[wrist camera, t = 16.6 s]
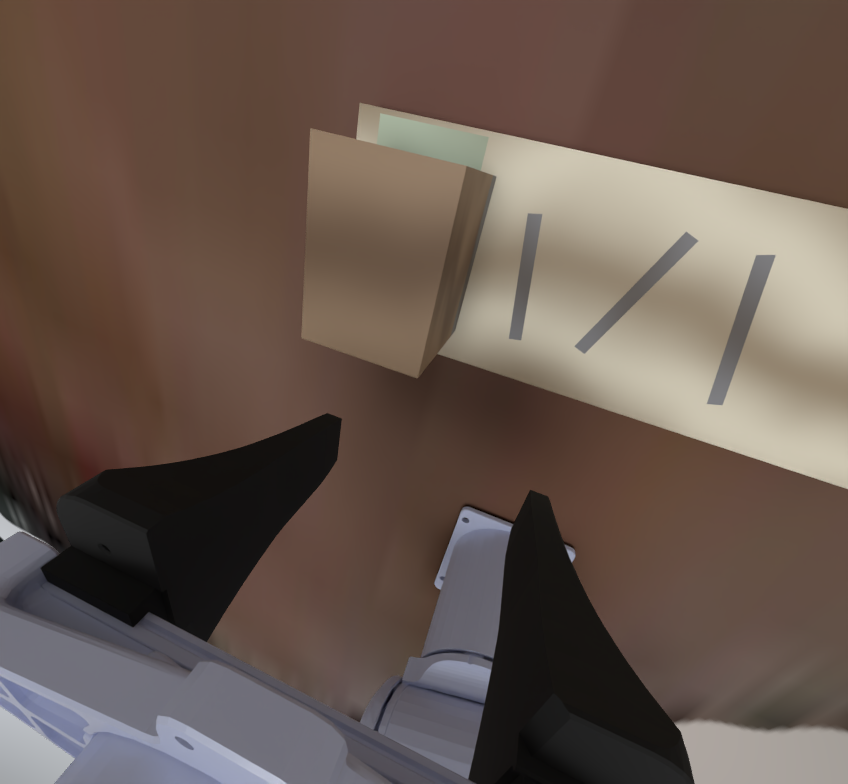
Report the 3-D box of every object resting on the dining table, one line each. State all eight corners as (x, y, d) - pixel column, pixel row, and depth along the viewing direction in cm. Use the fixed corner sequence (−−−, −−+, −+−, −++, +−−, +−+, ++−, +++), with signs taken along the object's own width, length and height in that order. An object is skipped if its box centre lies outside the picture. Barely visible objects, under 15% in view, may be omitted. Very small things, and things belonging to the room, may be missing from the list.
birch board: (885, 487, 18) (911, 509, 16) (351, 314, 22) (339, 321, 21) (1132, 276, 13) (1197, 284, 11) (374, 109, 17) (359, 102, 16)
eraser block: (455, 330, 19) (417, 378, 14) (366, 302, 20) (301, 338, 15) (496, 176, 16) (466, 166, 11) (387, 150, 16) (310, 128, 11)
